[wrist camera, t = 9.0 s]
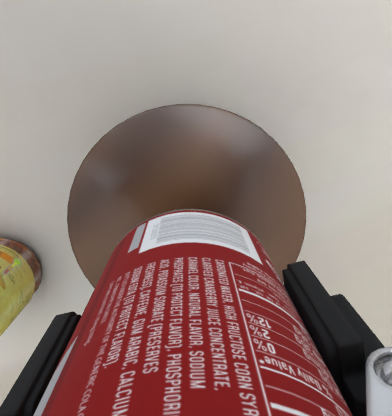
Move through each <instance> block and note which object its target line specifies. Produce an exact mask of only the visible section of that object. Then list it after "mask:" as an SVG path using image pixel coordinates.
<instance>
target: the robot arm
mask: <svg viewBox="0 0 392 416" xmlns="http://www.w3.org/2000/svg"><path fill="white" fill-rule="evenodd" d="M282 275H283V280H284V286H285V288H286V290H287V292H288V294H289V296H290V298H291V300H292V302H293V303H294V305H295V307H296V309H297V311H298V313H299V315H300V317H301V319H302V321H303V322H304V324H305V326H306V328H307V330H308V332H309V334H310V336H311V338H312V339H313V341H314V343H315V345H316V347H317V349H318V351H319V353H320V355H321V357H322V358H323V360H324V362H325V364H326V366H327V368H328V370H329V372H330V374H331V375H332V377H333V379H334V381H335V383H336V385H337V387H338V389H339V391H340V393H341V394H342V396H343V398H344V400H345V402H346V404H347V406H348V408H349V410H350V412H351V413H352V415H353V416H392V347H384V346H383V344H382V343H381V342H380V341H379V339H378V338H377V337H376V336H375V334H374V333H373V332H372V331H371V329H370V328H369V327H368V326H367V324H366V323H365V322H364V321H363V319H362V318H361V317H360V316H359V314H358V313H357V312H356V311H355V309H354V308H353V307H352V306H351V304H350V303H349V302H348V301H347V299H346V298H345V297H344V296H343V295H341V294H338V295H333V296H330V295H329V294H328V292H327V291H326V290H325V288H324V287H323V286H322V284H321V283H320V282H319V280H318V279H317V277H316V276H315V275H314V273H313V272H312V271H311V269H310V268H309V266H308V265H307V264H306V262H305V261H300V262H296V263H291V264H287V269H284V270H282ZM80 318H81V315H77V314H76V313H75V312H69V313H64V314H60V315H56V316H55V318H54V319H53V321H52V323H51V324H50V326H49V328H48V329H47V331H46V333H45V334H44V336H43V337H42V339H41V341H40V342H39V344H38V346H37V347H36V349H35V351H34V352H33V354H32V356H31V357H30V359H29V361H28V362H27V364H26V366H25V367H24V369H23V371H22V372H21V374H20V375H19V377H18V379H17V380H16V382H15V384H14V385H13V387H12V389H11V390H10V392H9V394H8V395H7V397H6V399H5V400H4V402H3V404H2V405H1V407H0V416H33V415H34V413H35V411H36V409H37V407H38V405H39V403H40V401H41V399H42V397H43V395H44V393H45V391H46V389H47V387H48V384H49V382H50V380H51V378H52V376H53V374H54V372H55V370H56V368H57V366H58V364H59V362H60V360H61V358H62V356H63V354H64V351H65V349H66V347H67V345H68V343H69V341H70V339H71V337H72V335H73V333H74V331H75V329H76V327H77V325H78V323H79V321H80Z"/></svg>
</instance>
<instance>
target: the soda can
mask: <svg viewBox="0 0 392 416" xmlns="http://www.w3.org/2000/svg"><path fill="white" fill-rule="evenodd" d="M33 416H353V415H352V413H351V412H350V410H349V408H348V406H347V404H346V402H345V400H344V398H343V396H342V394H341V393H340V391H339V389H338V387H337V385H336V383H335V381H334V379H333V377H332V375H331V374H330V372H329V370H328V368H327V366H326V364H325V362H324V360H323V358H322V357H321V355H320V353H319V351H318V349H317V347H316V345H315V343H314V341H313V339H312V338H311V336H310V334H309V332H308V330H307V328H306V326H305V324H304V322H303V321H302V319H301V317H300V315H299V313H298V311H297V309H296V307H295V305H294V303H293V302H292V300H291V298H290V296H289V294H288V292H287V290H286V288H285V286H284V284H283V283H282V281H281V279H280V277H279V275H278V273H277V271H276V269H275V267H274V266H273V264H272V262H271V260H270V258H269V256H268V254H267V252H266V250H265V249H264V247H263V246H262V244H261V243H260V241H259V240H258V239H257V238H256V237H255V235H254V234H252V233H251V232H250V231H249V230H248V229H247V228H246V227H244V226H243V225H242V224H240V223H238V222H237V221H235V220H233V219H231V218H229V217H227V216H224V215H222V214H219V213H216V212H212V211H207V210H200V209H180V210H173V211H168V212H164V213H161V214H158V215H156V216H153V217H151V218H149V219H147V220H145V221H143V222H141V223H140V224H138V225H137V226H135V227H134V228H133V229H132V230H130V231H129V232H128V233H127V234H126V235H125V236H124V237H123V238H122V239H121V241H120V242H119V243H118V245H117V246H116V248H115V249H114V251H113V253H112V255H111V257H110V259H109V261H108V263H107V265H106V267H105V269H104V271H103V273H102V275H101V277H100V279H99V281H98V283H97V285H96V287H95V290H94V292H93V294H92V296H91V298H90V300H89V302H88V304H87V306H86V308H85V310H84V312H83V314H82V316H81V318H80V321H79V323H78V325H77V327H76V329H75V331H74V333H73V335H72V337H71V339H70V341H69V343H68V345H67V347H66V349H65V351H64V354H63V356H62V358H61V360H60V362H59V364H58V366H57V368H56V370H55V372H54V374H53V376H52V378H51V380H50V382H49V384H48V387H47V389H46V391H45V393H44V395H43V397H42V399H41V401H40V403H39V405H38V407H37V409H36V411H35V413H34V415H33Z"/></svg>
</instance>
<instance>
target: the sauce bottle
mask: <svg viewBox="0 0 392 416" xmlns="http://www.w3.org/2000/svg"><path fill="white" fill-rule="evenodd" d="M40 282H41V267H40V265H39V261H38V259H37V258H36V256H35V255H34V253H33V252H32V251H31V250H30V249H29V248H28V247H26V246H25V245H23V244H22V243H19V242H17V241H13V240H10V239H4V238H0V336H1V335H2V334H3V332H4V331H5V330H6V329H7V328H8V326H9V325H10V324H11V323H12V322H13V320H14V319H15V318H16V317H17V316H18V314H19V313H20V312H21V311H22V309H23V308H24V307H25V306H26V305H27V304H28V302H29V301H30V300H31V298H32V295H33V293H34V292H35V291H36V290H37V289H38V286H39V284H40Z"/></svg>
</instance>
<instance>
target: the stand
mask: <svg viewBox="0 0 392 416" xmlns="http://www.w3.org/2000/svg"><path fill="white" fill-rule="evenodd" d="M180 209H200V210H207V211H212V212H216V213H219V214H222V215H224V216H227V217H229V218H231V219H233V220H235V221H237V222H238V223H240V224H242V225H243V226H244V227H246V228H247V229H248V230H249V231H250V232H251V233H252V234H254V235H255V237H256V238H257V239H258V240H259V241H260V243H261V244H262V246H263V247H264V249H265V250H266V252H267V254H268V256H269V258H270V260H271V262H272V264H273V266H274V267H275V269H276V271H277V273H278V275H279V277H280V279H281V281H282V283H283V282H284V280H283V275H282V270H284V269H287V264H291V263H295V262H296V260H297V258H298V255H299V253H300V250H301V247H302V243H303V239H304V234H305V226H306V205H305V199H304V192H303V189H302V186H301V182H300V179H299V177H298V175H297V172H296V170H295V168H294V166H293V164H292V162H291V161H290V159H289V158H288V156H287V155H286V153H285V152H284V150H283V149H282V148H281V147H280V146H279V145H278V143H277V142H276V141H275V140H274V139H273V138H272V137H271V136H270V135H268V134H267V133H266V132H265V131H264V130H263V129H261V128H260V127H258V126H257V125H255V124H254V123H252V122H251V121H249V120H247V119H245V118H243V117H241V116H239V115H237V114H235V113H232V112H230V111H226V110H223V109H220V108H216V107H212V106H205V105H199V104H176V105H168V106H162V107H158V108H155V109H151V110H147V111H145V112H142V113H140V114H137V115H135V116H132V117H130V118H129V119H127V120H125V121H123V122H122V123H120V124H118V125H117V126H115V127H114V128H113V129H112V130H110V131H109V132H108V133H107V134H105V135H104V136H103V137H102V138H101V139H100V140H99V141H98V142H97V143H96V144H95V145H94V146H93V148H92V149H91V150H90V152H89V153H88V154H87V156H86V157H85V159H84V160H83V162H82V164H81V166H80V168H79V170H78V171H77V173H76V176H75V178H74V181H73V184H72V187H71V191H70V196H69V201H68V214H67V222H68V232H69V238H70V242H71V246H72V250H73V252H74V255H75V257H76V260H77V262H78V264H79V266H80V268H81V270H82V271H83V273H84V275H85V276H86V278H87V279H88V280H89V282H90V283H91V284H92V286H93V287H94V288H95V287H96V285H97V283H98V281H99V279H100V277H101V275H102V273H103V271H104V269H105V267H106V265H107V263H108V261H109V259H110V257H111V255H112V253H113V251H114V249H115V248H116V246H117V245H118V243H119V242H120V241H121V239H122V238H123V237H124V236H125V235H126V234H127V233H128V232H129V231H130V230H132V229H133V228H134V227H135V226H137V225H138V224H140V223H141V222H143V221H145V220H147V219H149V218H151V217H153V216H156V215H158V214H161V213H164V212H168V211H173V210H180Z"/></svg>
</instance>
